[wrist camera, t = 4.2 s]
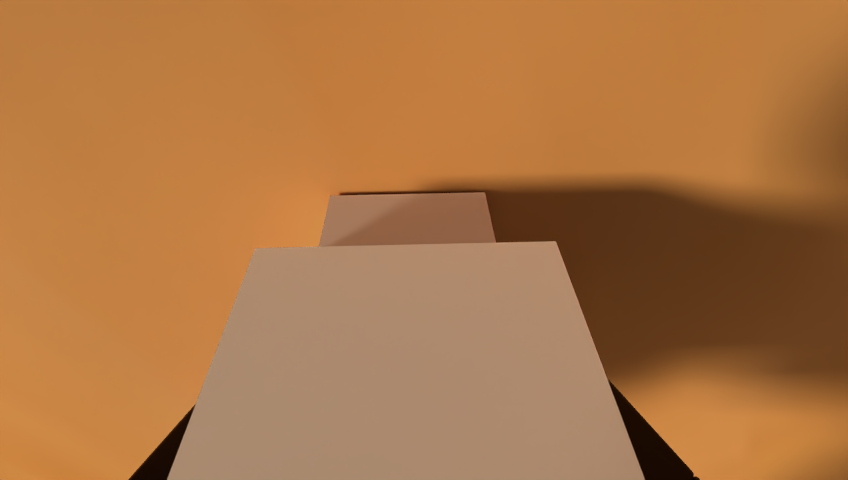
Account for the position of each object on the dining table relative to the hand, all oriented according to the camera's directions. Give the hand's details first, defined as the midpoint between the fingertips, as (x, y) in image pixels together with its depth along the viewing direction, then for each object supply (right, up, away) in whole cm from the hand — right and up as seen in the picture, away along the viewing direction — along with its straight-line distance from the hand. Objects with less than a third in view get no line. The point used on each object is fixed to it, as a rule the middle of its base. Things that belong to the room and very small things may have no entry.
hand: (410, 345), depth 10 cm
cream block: (0, +2, +2) cm, 3 cm away
